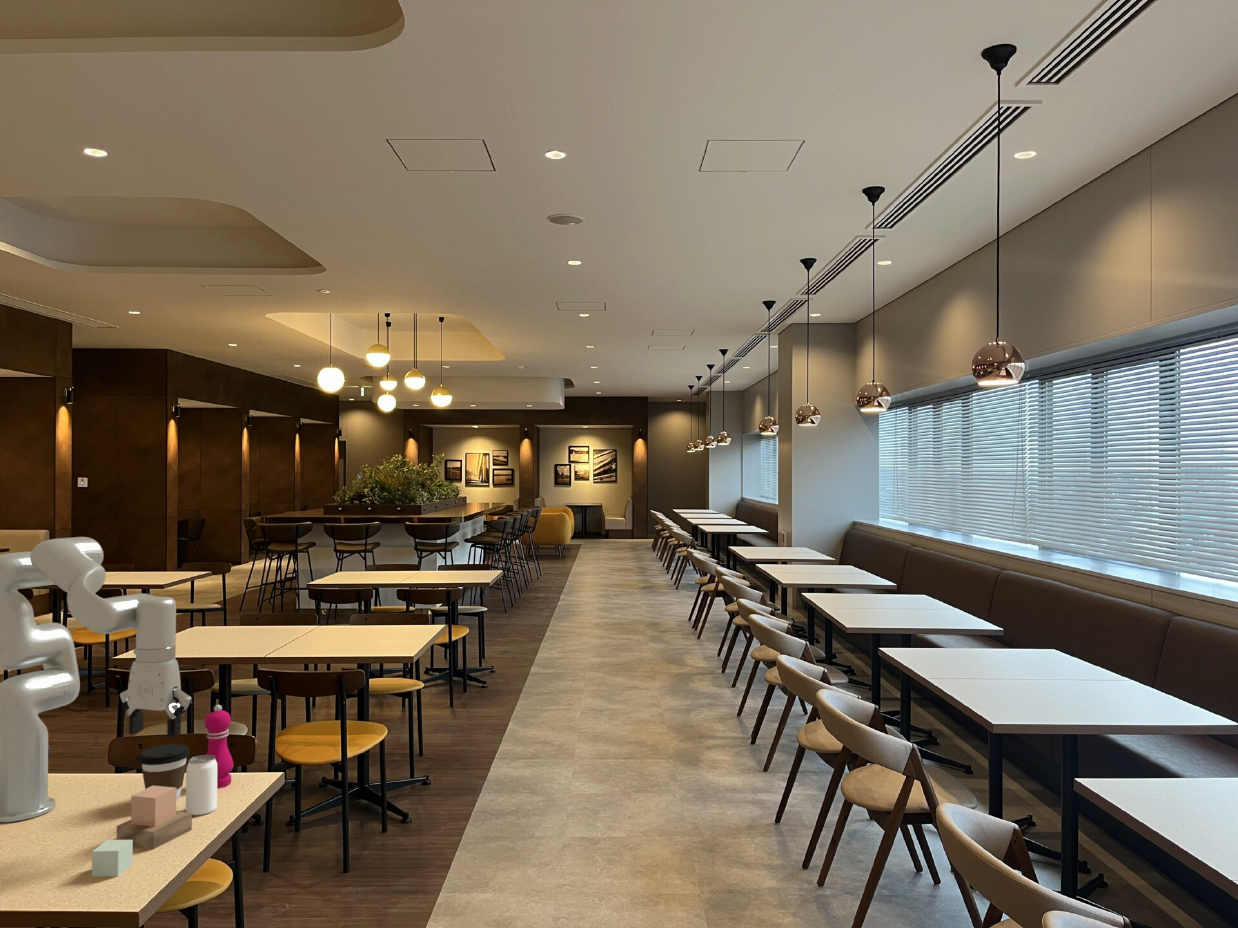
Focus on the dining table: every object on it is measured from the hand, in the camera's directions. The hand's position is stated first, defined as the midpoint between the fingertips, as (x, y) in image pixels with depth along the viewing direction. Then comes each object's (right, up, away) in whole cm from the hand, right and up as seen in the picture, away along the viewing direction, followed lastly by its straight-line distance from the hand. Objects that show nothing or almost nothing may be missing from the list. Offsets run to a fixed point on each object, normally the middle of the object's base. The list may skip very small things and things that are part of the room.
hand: (154, 733), depth 178 cm
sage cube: (+1, -22, -16) cm, 27 cm away
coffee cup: (-9, -23, +19) cm, 31 cm away
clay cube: (0, -18, 0) cm, 18 cm away
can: (+3, -22, +13) cm, 26 cm away
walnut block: (0, -22, 0) cm, 22 cm away
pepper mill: (-1, -23, +30) cm, 37 cm away
